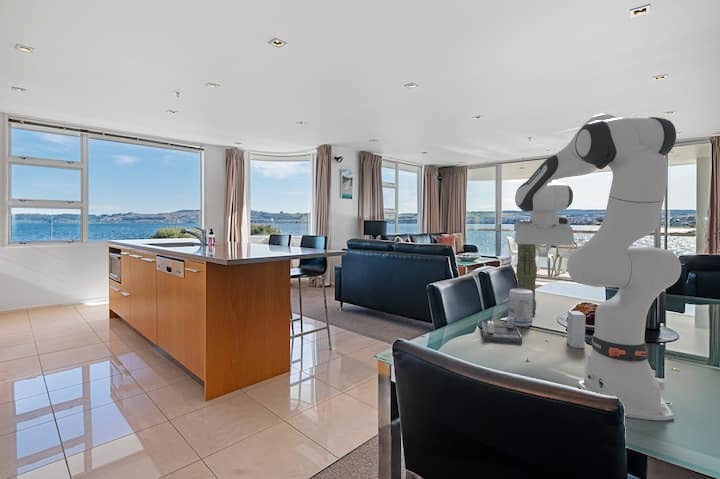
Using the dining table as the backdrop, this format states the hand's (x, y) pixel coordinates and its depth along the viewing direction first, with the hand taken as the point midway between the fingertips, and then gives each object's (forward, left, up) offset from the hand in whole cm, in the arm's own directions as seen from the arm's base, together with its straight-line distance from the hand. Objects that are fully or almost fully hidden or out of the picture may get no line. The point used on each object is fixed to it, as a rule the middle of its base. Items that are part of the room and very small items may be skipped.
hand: (542, 256), depth 144 cm
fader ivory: (-4, +19, -29) cm, 35 cm away
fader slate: (+4, +11, -29) cm, 31 cm away
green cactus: (+37, -1, -32) cm, 48 cm away
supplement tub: (+18, +5, -32) cm, 37 cm away
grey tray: (0, +15, -32) cm, 35 cm away
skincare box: (-6, -10, -32) cm, 34 cm away
